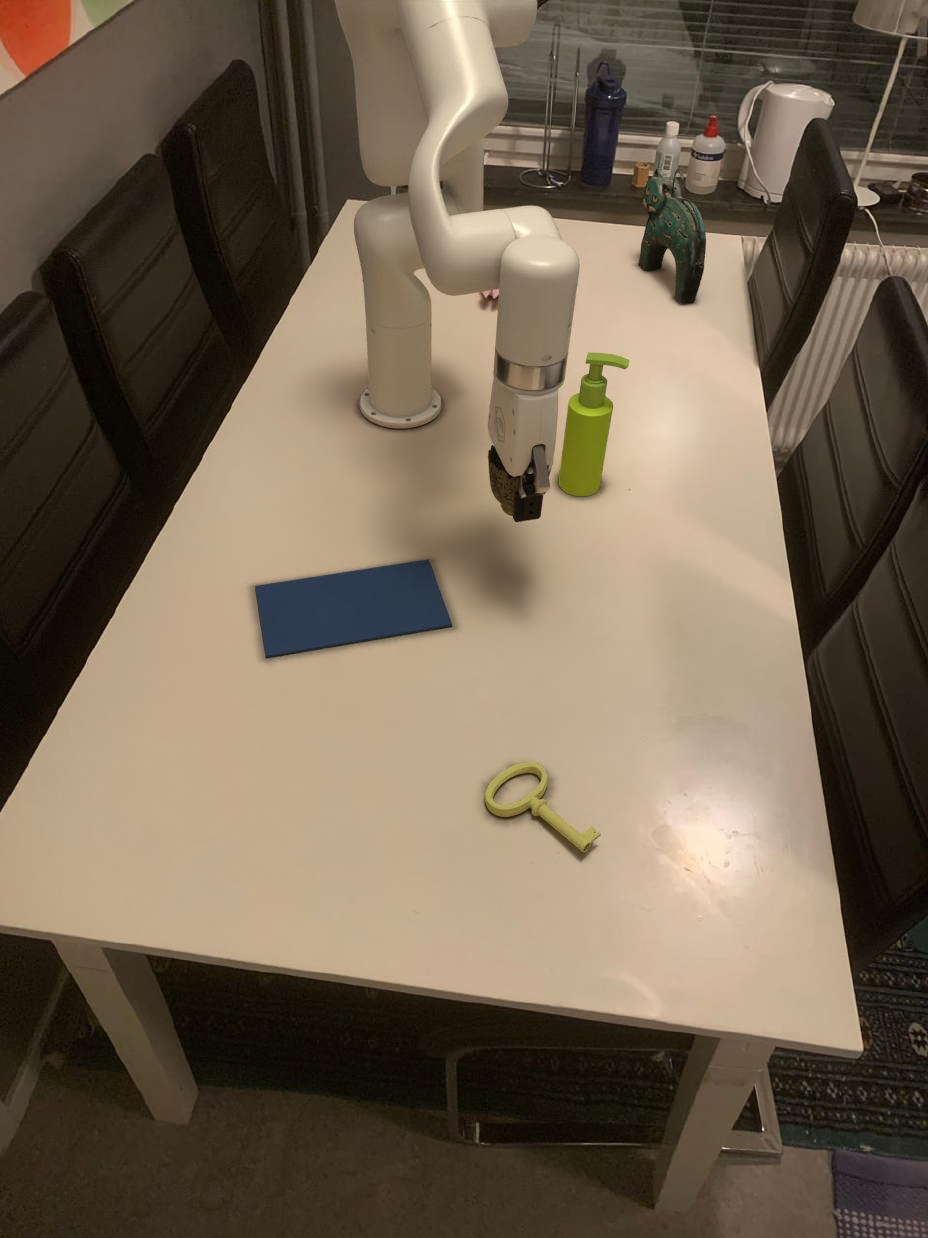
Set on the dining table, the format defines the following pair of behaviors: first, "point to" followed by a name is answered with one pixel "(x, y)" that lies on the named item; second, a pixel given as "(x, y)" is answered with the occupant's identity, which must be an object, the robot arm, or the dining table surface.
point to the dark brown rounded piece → (504, 481)
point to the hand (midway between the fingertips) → (516, 497)
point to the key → (536, 804)
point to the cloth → (350, 607)
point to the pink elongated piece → (491, 293)
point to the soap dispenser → (588, 429)
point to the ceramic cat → (673, 234)
